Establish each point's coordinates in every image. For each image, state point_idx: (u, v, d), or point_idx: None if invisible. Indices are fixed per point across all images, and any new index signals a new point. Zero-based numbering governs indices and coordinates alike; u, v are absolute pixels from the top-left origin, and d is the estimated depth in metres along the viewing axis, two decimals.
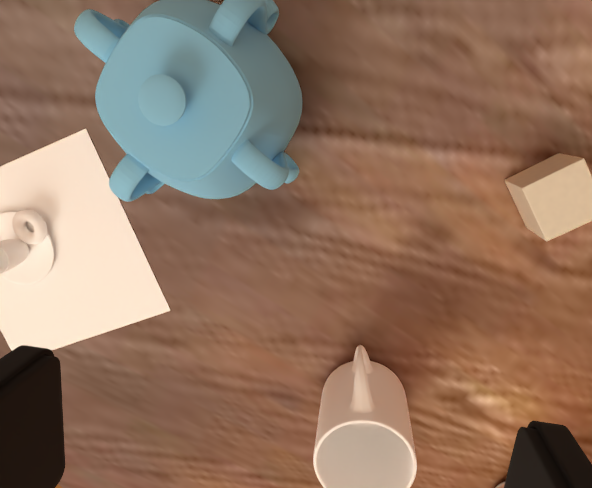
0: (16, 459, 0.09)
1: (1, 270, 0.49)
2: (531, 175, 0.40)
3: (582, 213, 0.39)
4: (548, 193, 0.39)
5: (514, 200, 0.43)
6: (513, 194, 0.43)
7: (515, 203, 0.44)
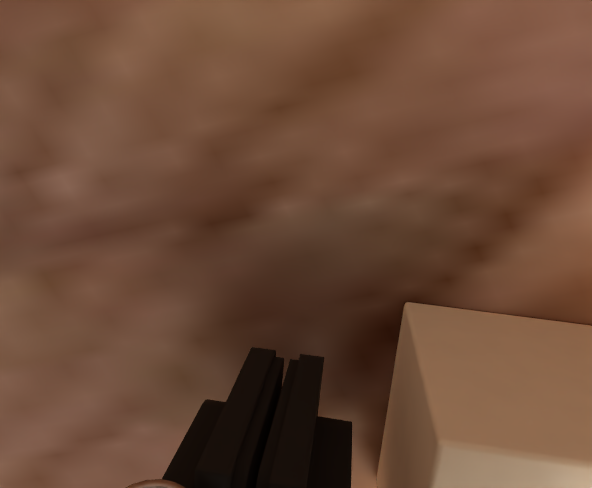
0: None
1: None
2: None
3: None
4: None
5: None
6: None
7: None
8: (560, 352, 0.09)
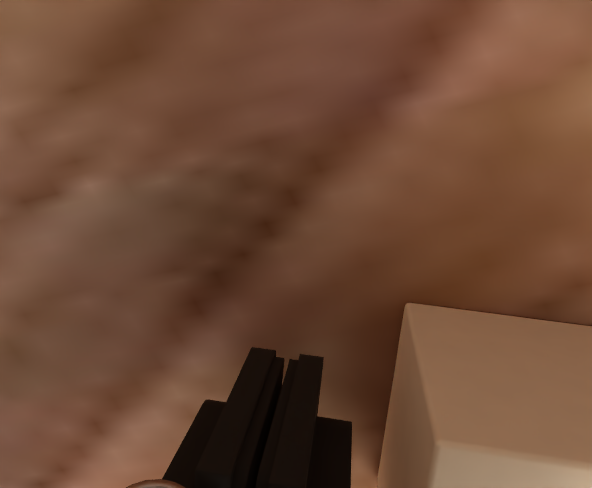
0: None
1: None
2: None
3: None
4: None
5: None
6: None
7: None
8: (561, 353, 0.09)
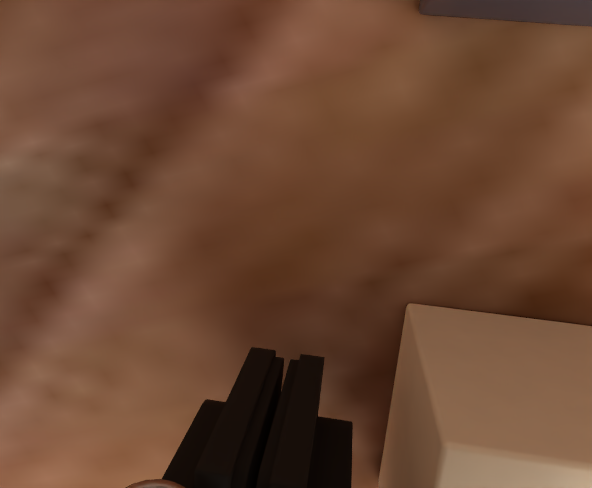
0: None
1: None
2: None
3: None
4: None
5: None
6: None
7: None
8: (564, 354, 0.09)
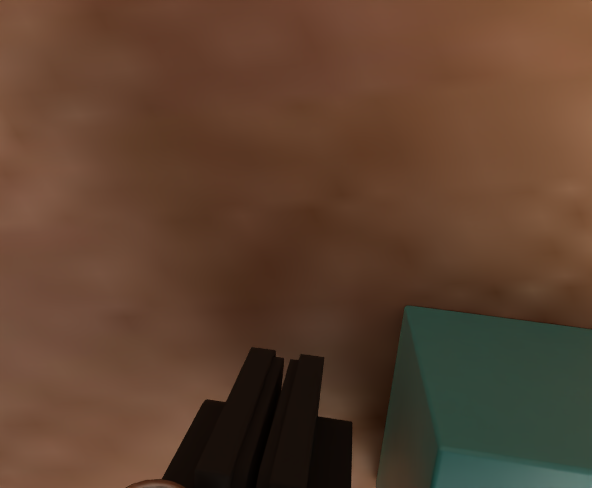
0: None
1: None
2: None
3: None
4: None
5: None
6: None
7: None
8: None
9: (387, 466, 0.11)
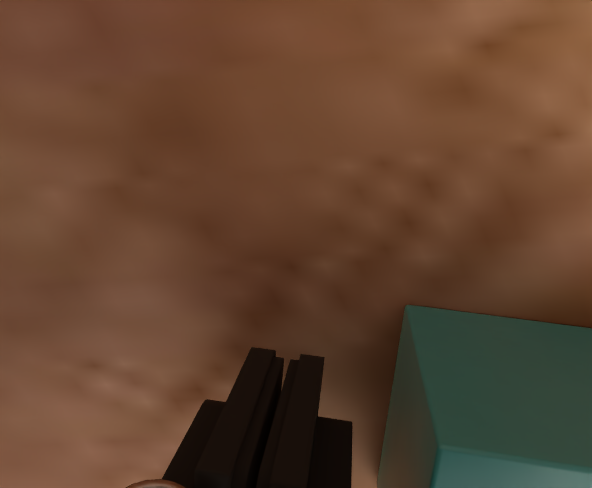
0: None
1: None
2: None
3: None
4: None
5: None
6: None
7: None
8: None
9: (388, 465, 0.11)
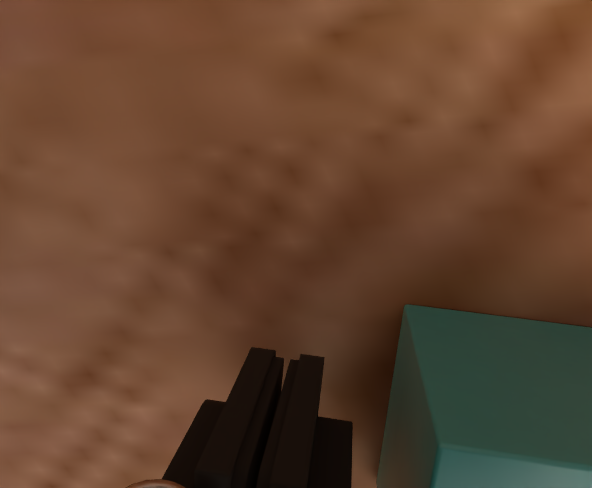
0: None
1: None
2: None
3: None
4: None
5: None
6: None
7: None
8: None
9: (387, 464, 0.11)
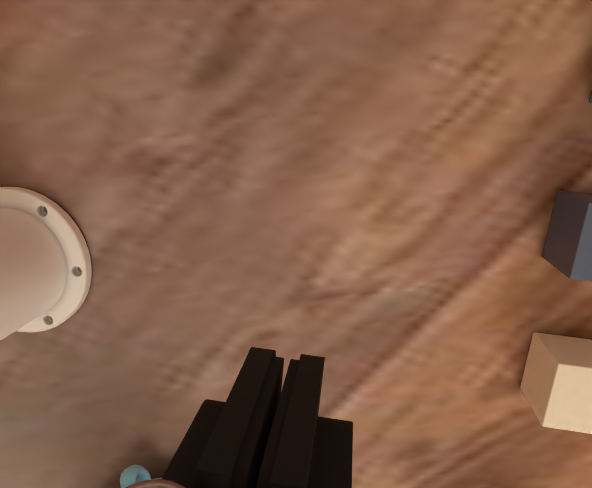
0: None
1: None
2: (536, 390, 0.36)
3: None
4: (567, 410, 0.34)
5: None
6: None
7: None
8: (580, 346, 0.36)
9: None
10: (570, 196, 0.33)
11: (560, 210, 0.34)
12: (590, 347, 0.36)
